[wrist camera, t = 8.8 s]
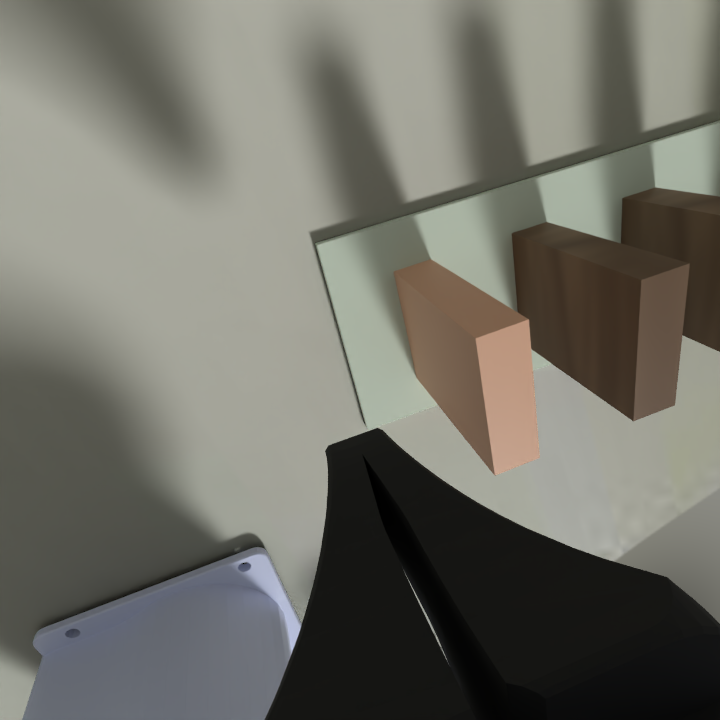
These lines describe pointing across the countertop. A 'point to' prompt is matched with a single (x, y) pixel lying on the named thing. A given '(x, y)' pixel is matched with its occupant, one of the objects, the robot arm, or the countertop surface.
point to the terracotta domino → (472, 362)
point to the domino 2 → (682, 249)
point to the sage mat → (486, 251)
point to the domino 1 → (603, 314)
